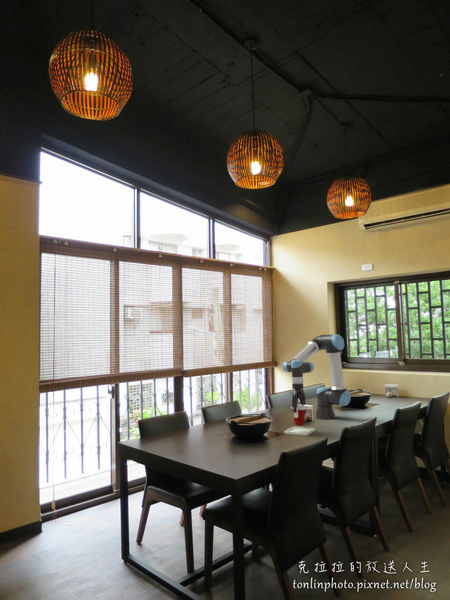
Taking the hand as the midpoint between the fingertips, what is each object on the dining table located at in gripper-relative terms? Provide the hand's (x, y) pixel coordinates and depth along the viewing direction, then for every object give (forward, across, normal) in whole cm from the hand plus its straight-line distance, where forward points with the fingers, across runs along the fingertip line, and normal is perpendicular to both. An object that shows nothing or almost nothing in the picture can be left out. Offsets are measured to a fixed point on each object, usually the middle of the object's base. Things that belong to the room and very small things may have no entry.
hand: (299, 415), depth 286 cm
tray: (+11, 0, 0) cm, 11 cm away
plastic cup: (+6, 0, 0) cm, 6 cm away
